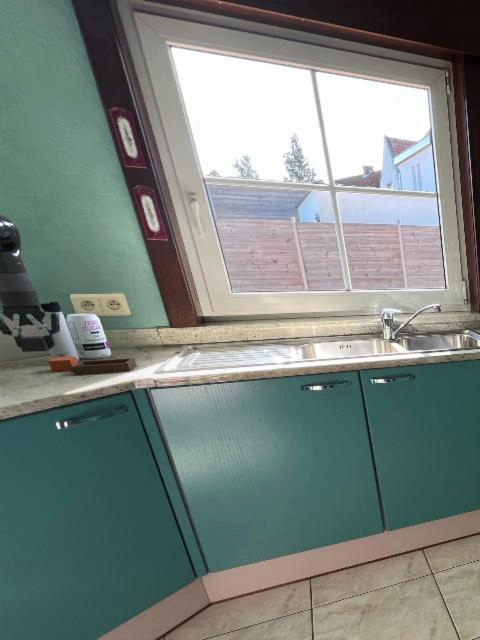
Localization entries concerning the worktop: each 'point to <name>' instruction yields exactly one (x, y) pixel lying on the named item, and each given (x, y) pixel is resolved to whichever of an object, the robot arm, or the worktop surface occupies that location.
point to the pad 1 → (33, 344)
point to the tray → (104, 366)
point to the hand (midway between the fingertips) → (38, 348)
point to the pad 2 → (62, 363)
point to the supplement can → (88, 336)
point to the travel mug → (60, 334)
